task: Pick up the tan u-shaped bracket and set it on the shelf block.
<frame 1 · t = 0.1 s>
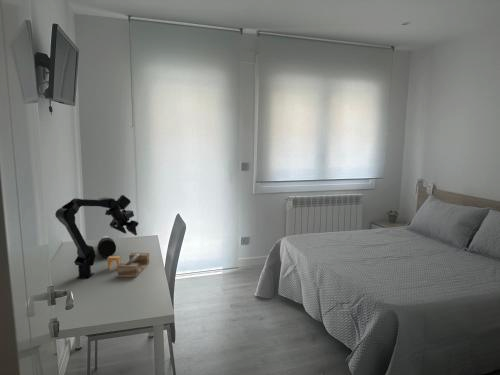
hand: (131, 234, 209), 15 cm above the table, tool tilted 30°, fingers open, 9 cm apart
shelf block: (134, 269, 193), on the table
tan u-shaped bracket: (114, 268, 196), on the table
black piece: (106, 250, 227), on the table
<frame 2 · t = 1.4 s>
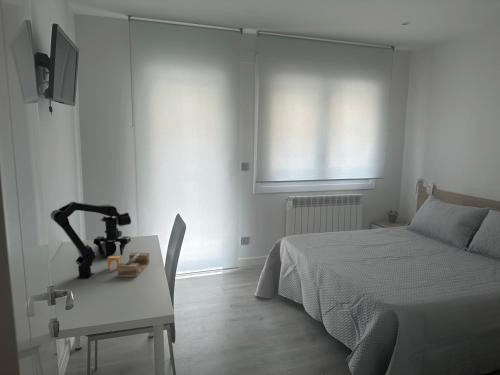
hand: (113, 255, 194), 8 cm above the table, tool pointing down, fingers open, 9 cm apart
nothing on the table moved.
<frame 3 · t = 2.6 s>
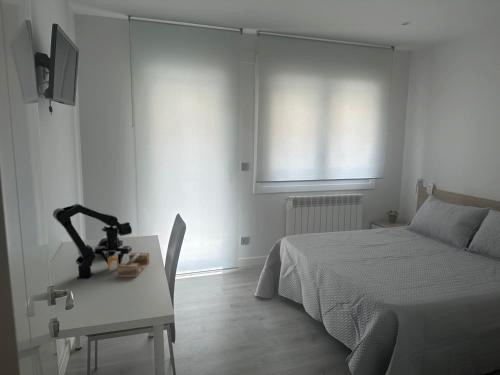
hand: (114, 264, 195), 2 cm above the table, tool pointing down, fingers closed on tan u-shaped bracket, 6 cm apart
tan u-shaped bracket: (114, 268, 196), on the table, touching gripper
everything else where it was.
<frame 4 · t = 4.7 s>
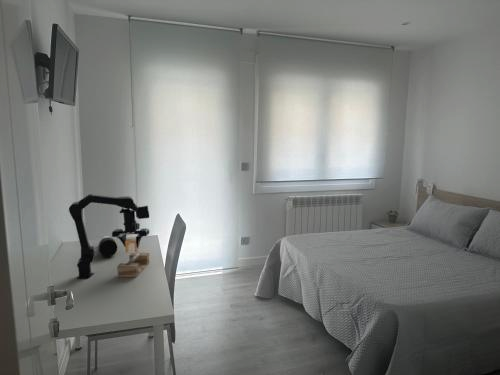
hand: (132, 247, 191), 12 cm above the table, tool pointing down, fingers closed on tan u-shaped bracket, 6 cm apart
tan u-shaped bracket: (132, 251, 192), point 10 cm above the table, touching gripper
everything else where it was.
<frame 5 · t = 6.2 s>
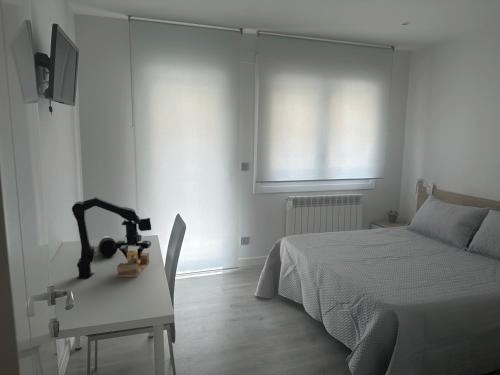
hand: (133, 259, 192), 6 cm above the table, tool pointing down, fingers closed on tan u-shaped bracket, 6 cm apart
tan u-shaped bracket: (134, 263, 193), point 4 cm above the table, touching gripper
everything else where it was.
when the fingers open (5 cm above the table, at t = 7.3 s): tan u-shaped bracket stays where it is, resting on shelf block.
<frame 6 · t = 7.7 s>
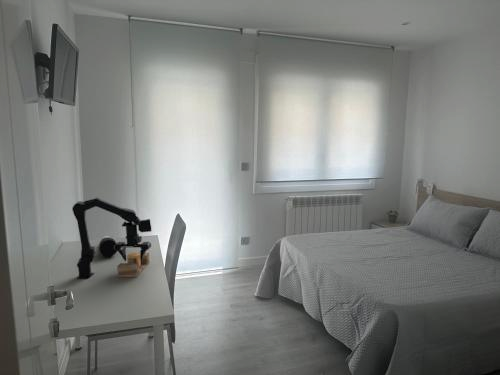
hand: (133, 260, 192), 5 cm above the table, tool pointing down, fingers open, 9 cm apart
tan u-shaped bracket: (134, 266, 193), point 2 cm above the table, touching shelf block
everything else where it was.
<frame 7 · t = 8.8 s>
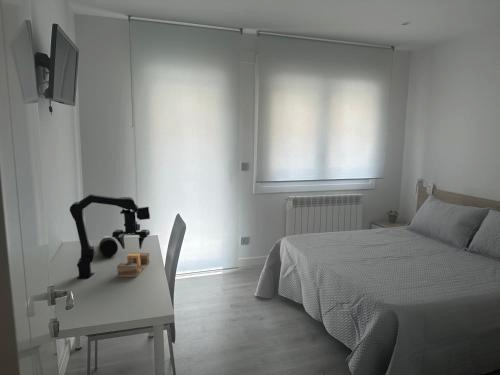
hand: (132, 248, 191), 12 cm above the table, tool pointing down, fingers open, 9 cm apart
nothing on the table moved.
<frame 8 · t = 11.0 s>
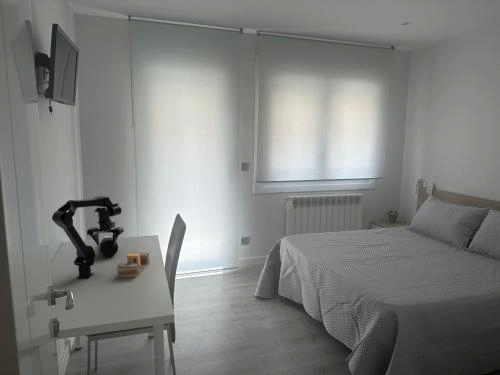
hand: (106, 245, 197), 12 cm above the table, tool pointing down, fingers open, 9 cm apart
nothing on the table moved.
at the end: tan u-shaped bracket 0.1 cm off-centre on the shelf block, point 2.0 cm above the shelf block's base; tan u-shaped bracket touching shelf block; tan u-shaped bracket tilted 0° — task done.
